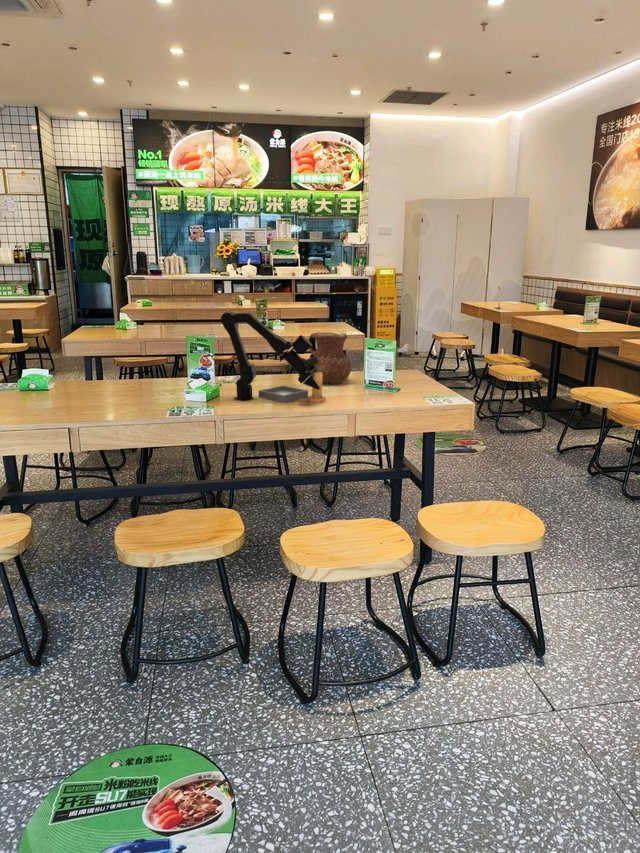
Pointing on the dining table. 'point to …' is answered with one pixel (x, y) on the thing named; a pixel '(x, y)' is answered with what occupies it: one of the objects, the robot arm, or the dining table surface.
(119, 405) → the dining table surface
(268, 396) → the grey square tray
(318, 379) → the peach joystick knob
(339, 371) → the jug
